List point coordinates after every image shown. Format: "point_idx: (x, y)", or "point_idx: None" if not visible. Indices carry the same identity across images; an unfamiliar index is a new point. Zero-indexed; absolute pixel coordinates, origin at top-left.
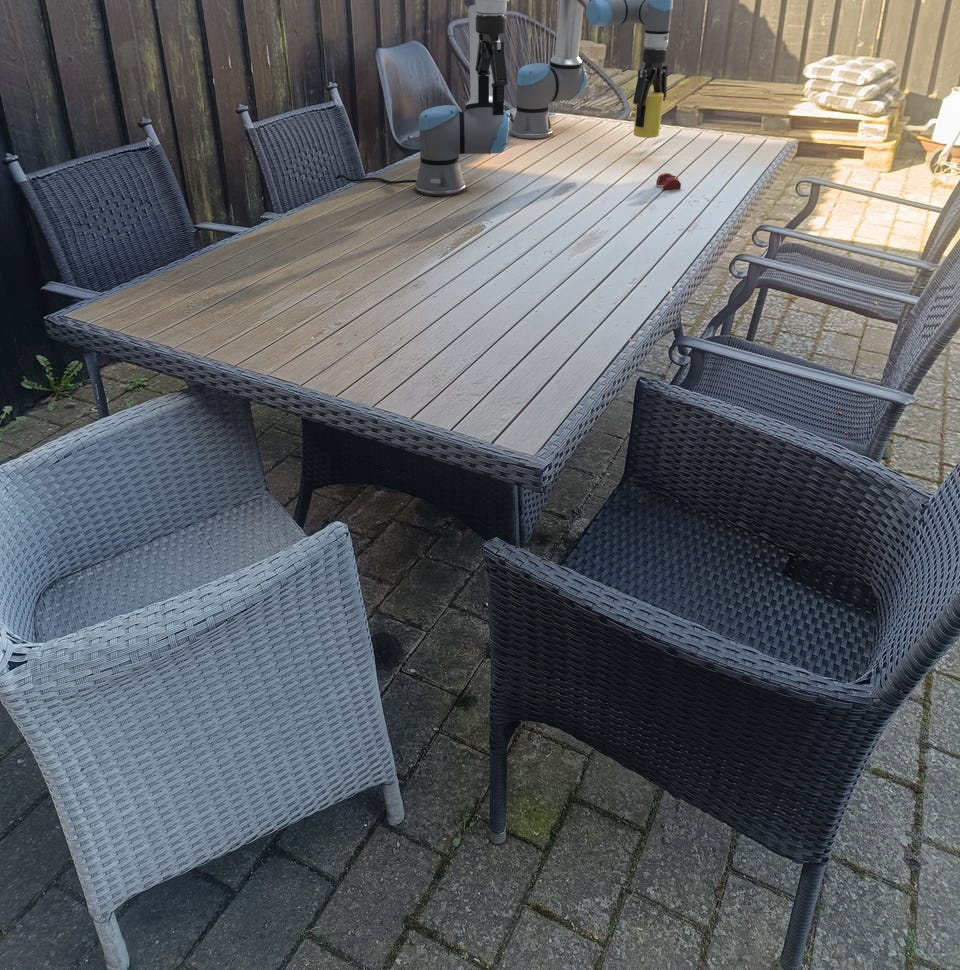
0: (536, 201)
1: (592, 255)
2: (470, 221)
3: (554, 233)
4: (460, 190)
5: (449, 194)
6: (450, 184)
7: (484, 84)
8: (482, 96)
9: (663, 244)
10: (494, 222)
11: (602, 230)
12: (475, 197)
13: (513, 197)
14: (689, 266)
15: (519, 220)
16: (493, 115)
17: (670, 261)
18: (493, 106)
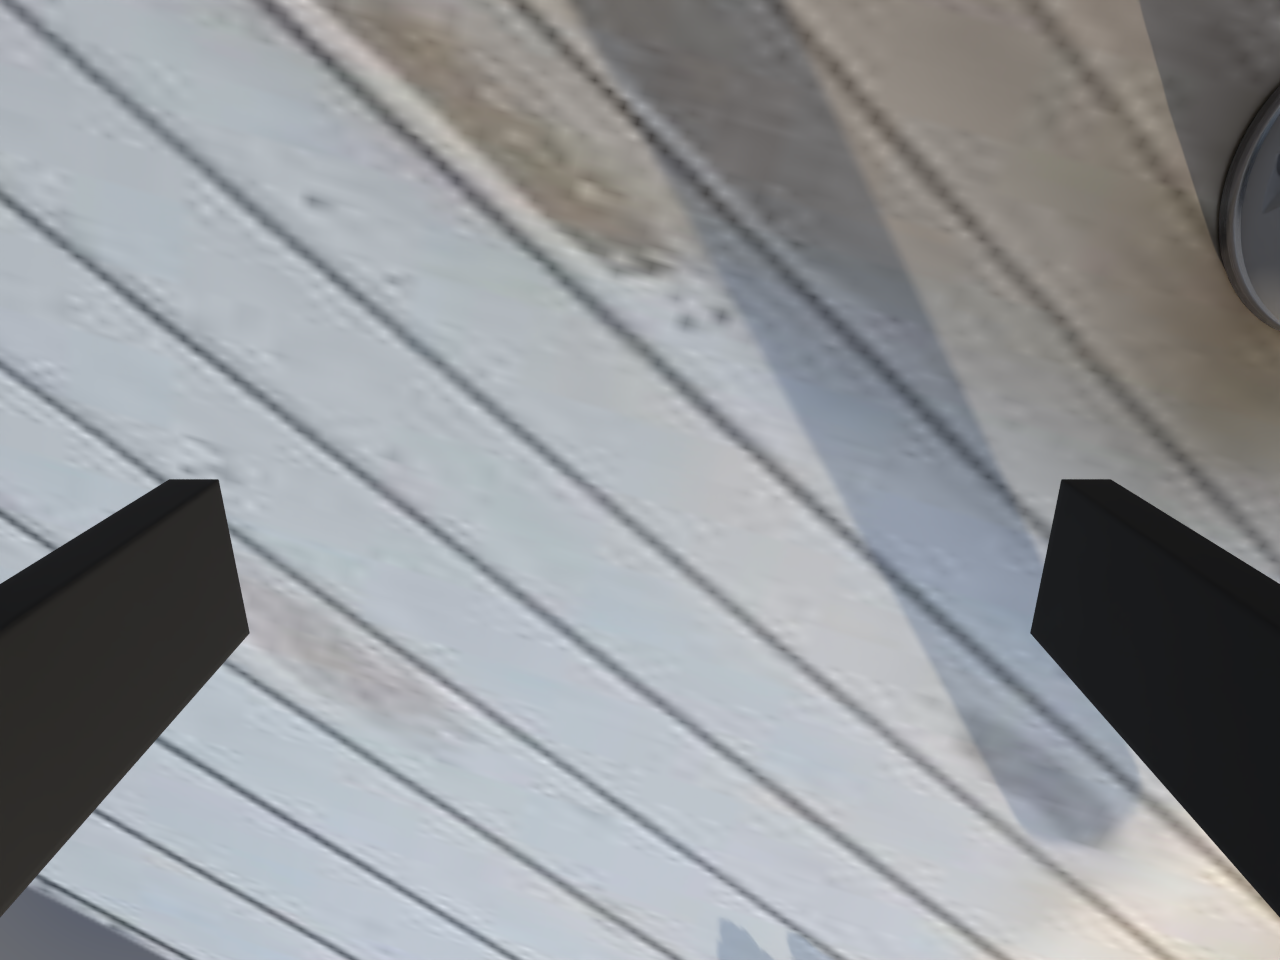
0: (925, 624)
1: None
2: (739, 215)
3: (460, 563)
4: (1244, 290)
5: (1224, 209)
6: (1275, 222)
7: (1260, 769)
8: (1113, 591)
9: (267, 881)
10: (685, 340)
11: (459, 749)
12: (1125, 354)
13: (1032, 543)
14: (37, 875)
15: (679, 468)
16: (169, 482)
17: (88, 841)
18: (78, 538)
